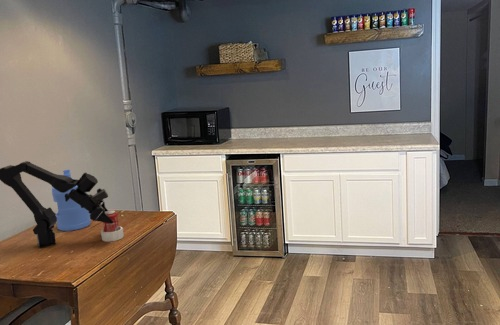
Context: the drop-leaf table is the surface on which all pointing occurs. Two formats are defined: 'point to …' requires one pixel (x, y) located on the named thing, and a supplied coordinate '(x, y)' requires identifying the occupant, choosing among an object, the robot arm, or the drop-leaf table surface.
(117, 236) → the ring
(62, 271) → the drop-leaf table surface
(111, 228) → the beverage can
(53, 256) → the drop-leaf table surface
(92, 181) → the robot arm
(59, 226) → the water jug
